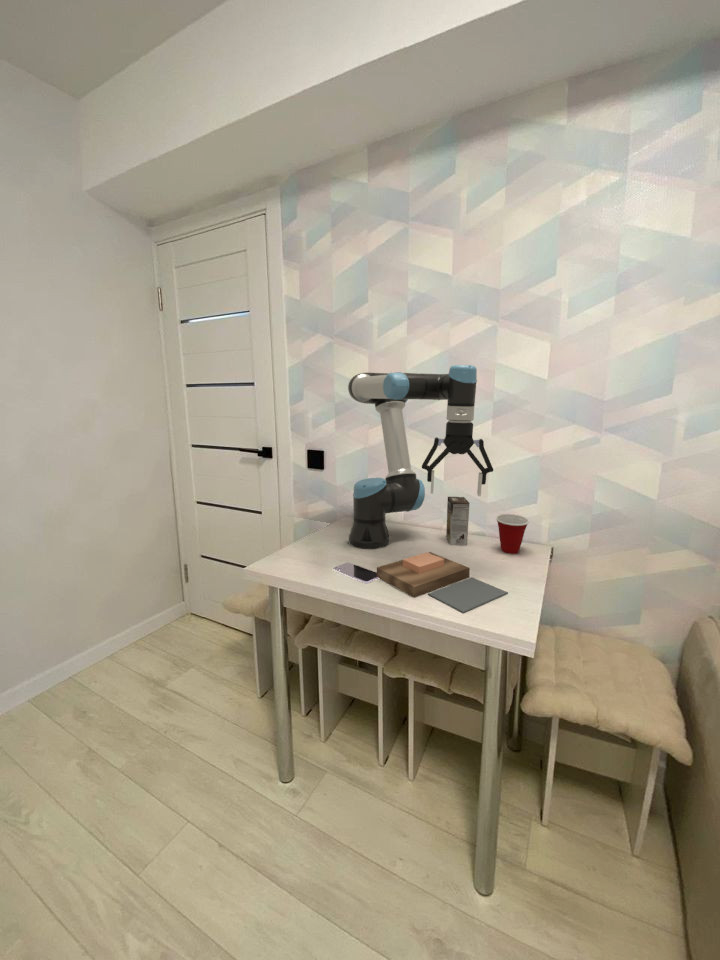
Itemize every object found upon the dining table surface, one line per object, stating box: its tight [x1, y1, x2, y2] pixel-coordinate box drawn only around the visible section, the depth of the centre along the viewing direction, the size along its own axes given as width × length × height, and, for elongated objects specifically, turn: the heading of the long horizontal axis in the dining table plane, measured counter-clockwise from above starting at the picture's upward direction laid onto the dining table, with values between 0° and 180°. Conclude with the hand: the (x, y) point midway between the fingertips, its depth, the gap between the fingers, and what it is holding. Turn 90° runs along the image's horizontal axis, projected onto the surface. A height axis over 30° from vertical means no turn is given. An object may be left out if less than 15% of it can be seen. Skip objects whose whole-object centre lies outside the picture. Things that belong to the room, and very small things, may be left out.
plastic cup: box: [495, 513, 530, 555], centre depth 140 cm, size 11×11×12 cm
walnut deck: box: [376, 551, 471, 598], centre depth 119 cm, size 16×22×3 cm
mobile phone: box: [332, 562, 379, 584], centre depth 122 cm, size 8×1×15 cm
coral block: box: [402, 552, 444, 574], centre depth 120 cm, size 7×10×2 cm
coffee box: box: [445, 496, 470, 546], centre depth 150 cm, size 9×6×16 cm
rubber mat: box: [427, 577, 509, 614], centre depth 108 cm, size 12×18×1 cm, turn 126°
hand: (455, 493), depth 120 cm, fingers open, 13 cm apart
